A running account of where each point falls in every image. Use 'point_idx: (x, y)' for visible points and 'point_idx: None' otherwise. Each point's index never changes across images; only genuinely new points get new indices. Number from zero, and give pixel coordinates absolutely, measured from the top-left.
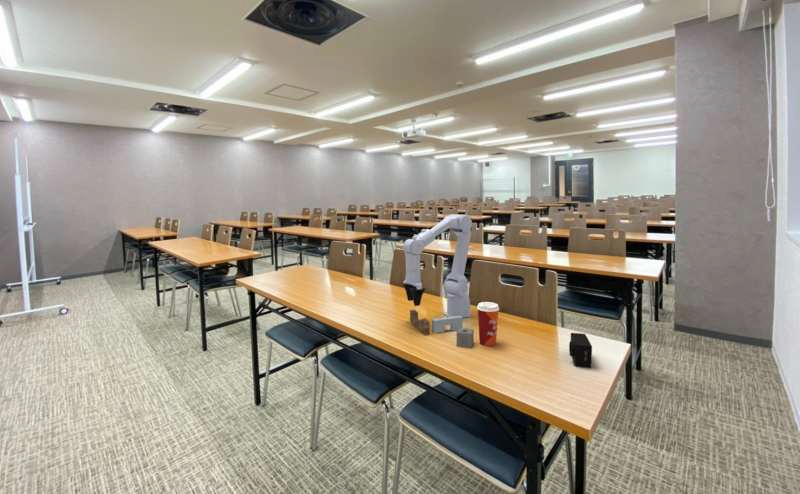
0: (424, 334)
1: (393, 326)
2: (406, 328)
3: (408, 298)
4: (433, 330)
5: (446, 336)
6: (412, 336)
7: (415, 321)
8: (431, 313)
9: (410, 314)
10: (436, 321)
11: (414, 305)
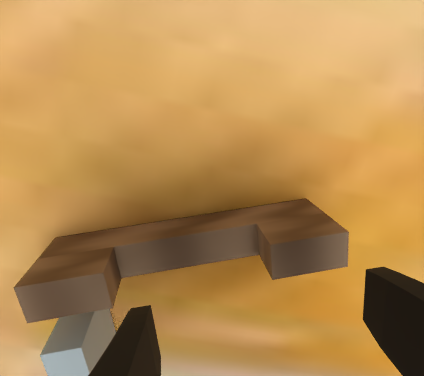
0: (55, 238)
1: (255, 69)
2: (193, 152)
3: (385, 286)
4: None
5: (20, 340)
6: (38, 161)
7: (215, 227)
8: None
9: (323, 219)
10: (48, 363)
11: (144, 307)
